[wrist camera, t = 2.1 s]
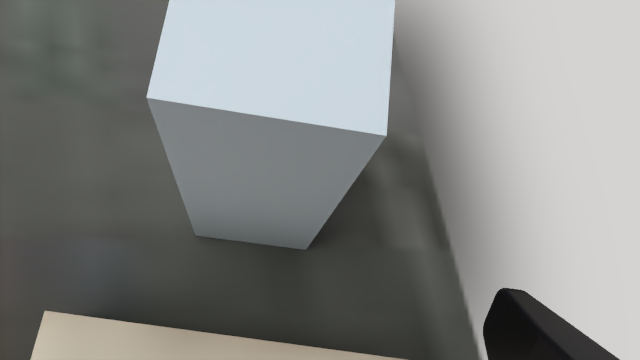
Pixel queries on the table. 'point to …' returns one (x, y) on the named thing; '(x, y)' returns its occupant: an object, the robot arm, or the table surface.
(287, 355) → the wooden block
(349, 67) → the tall block
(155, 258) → the table surface
